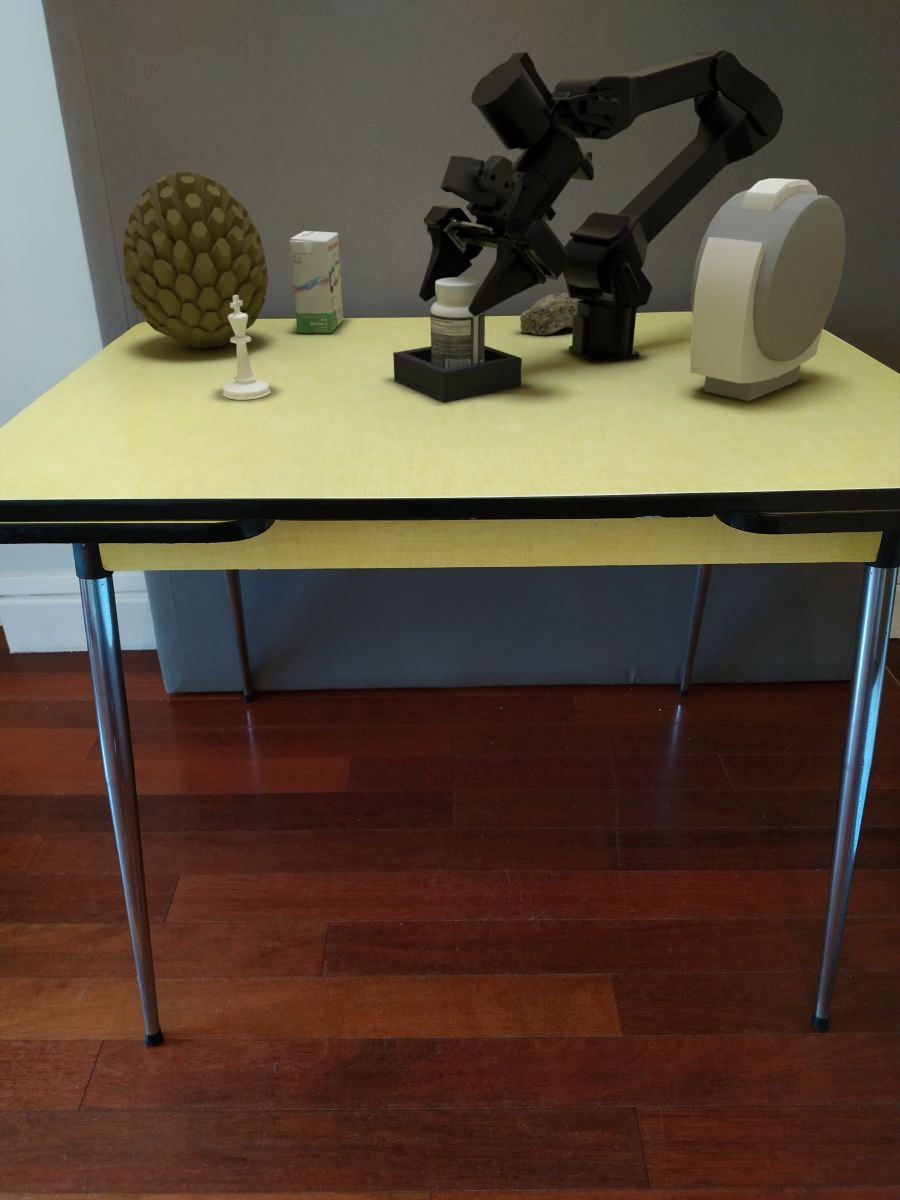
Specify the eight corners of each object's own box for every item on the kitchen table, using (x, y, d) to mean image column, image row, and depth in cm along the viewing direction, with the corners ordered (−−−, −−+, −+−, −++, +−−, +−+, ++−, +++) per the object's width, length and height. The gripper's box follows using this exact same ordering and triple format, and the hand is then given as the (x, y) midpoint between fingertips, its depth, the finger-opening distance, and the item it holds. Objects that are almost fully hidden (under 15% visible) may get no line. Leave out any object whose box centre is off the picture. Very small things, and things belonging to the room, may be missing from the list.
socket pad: (468, 366, 105) (468, 339, 104) (521, 386, 98) (522, 357, 97) (393, 380, 100) (392, 352, 99) (443, 402, 93) (443, 372, 92)
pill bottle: (454, 366, 102) (454, 274, 98) (494, 374, 99) (496, 279, 94) (420, 377, 99) (418, 281, 94) (461, 386, 95) (461, 287, 91)
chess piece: (278, 388, 98) (269, 292, 93) (255, 401, 94) (244, 301, 89) (238, 384, 99) (227, 289, 94) (214, 397, 95) (200, 298, 90)
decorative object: (287, 354, 111) (271, 174, 101) (144, 368, 106) (112, 179, 96) (260, 326, 125) (243, 165, 115) (132, 337, 119) (103, 169, 109)
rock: (570, 338, 117) (572, 302, 115) (513, 333, 120) (514, 297, 118) (586, 327, 123) (588, 292, 121) (531, 322, 126) (532, 288, 123)
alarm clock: (758, 363, 106) (788, 172, 96) (828, 377, 100) (868, 176, 91) (671, 395, 95) (695, 182, 85) (744, 412, 89) (779, 188, 80)
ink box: (332, 334, 120) (326, 239, 114) (296, 333, 121) (287, 239, 115) (344, 320, 128) (339, 230, 122) (310, 319, 128) (303, 230, 122)
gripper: (437, 121, 96) (351, 242, 96) (550, 125, 82) (450, 265, 82) (496, 198, 103) (416, 310, 103) (608, 213, 90) (516, 341, 90)
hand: (445, 305), depth 95 cm, fingers open, 9 cm apart
